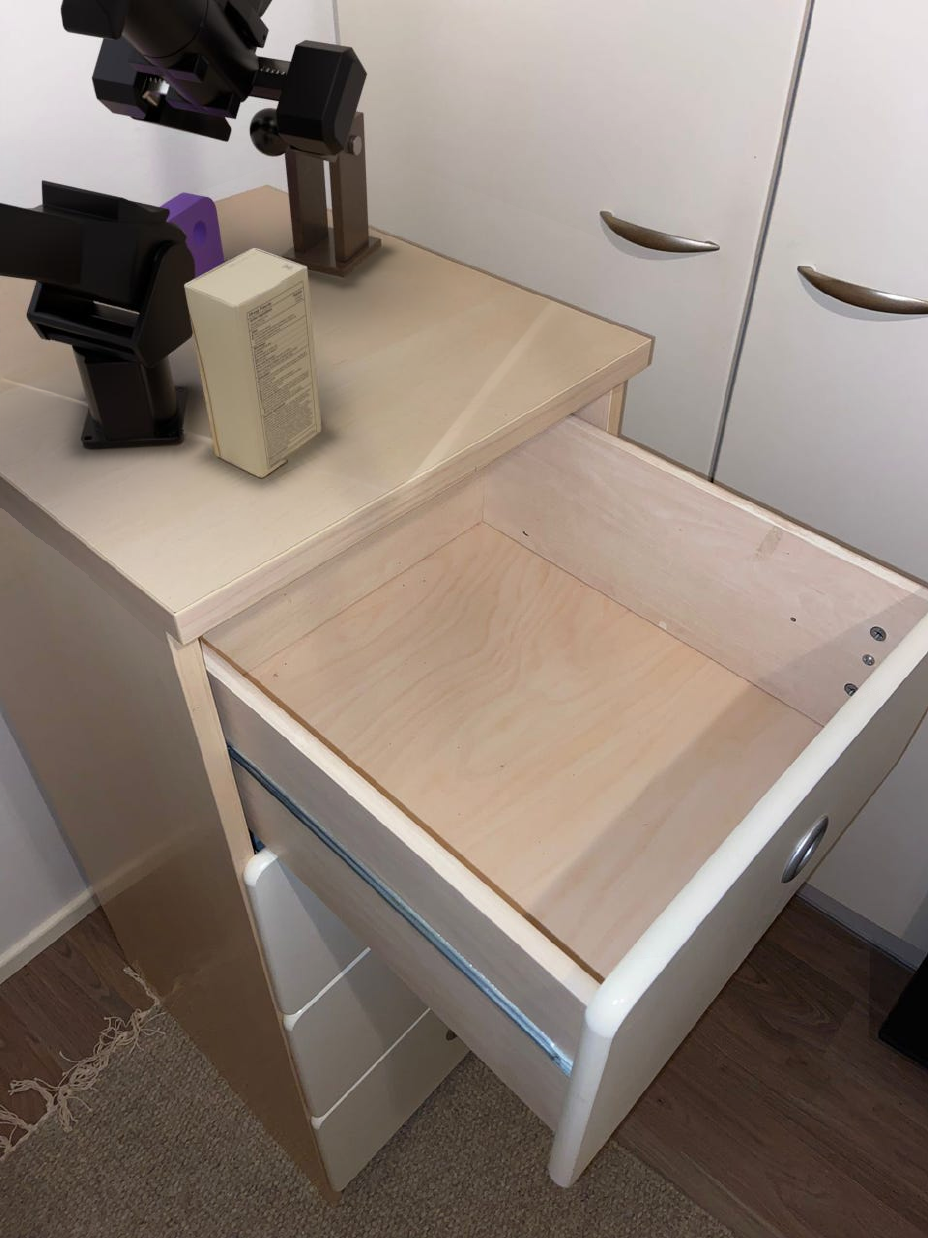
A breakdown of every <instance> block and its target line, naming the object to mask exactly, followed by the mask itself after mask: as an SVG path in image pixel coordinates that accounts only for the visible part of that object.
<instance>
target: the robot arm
mask: <svg viewBox="0 0 928 1238" xmlns="http://www.w3.org/2000/svg"><path fill="white" fill-rule="evenodd" d="M272 2H273V0H62V2H61V5H60V16H61V24H62V28H63V29H64V31H66V33H68V34H69V33H71V34H76V35H82V36H87V37H94V38H100V39H102V41H101V44H100V47H99V51H98V54H97V57H96V62H95V65H94V68H93V72H92V75H91V82H92V87H93V91H94V94H95V98H96V100H98V101H99V103H101V104H102V105H103V106H104V107H105V108H106V109H108V110H109V111H110V112H111V113H112V114H115V115H120V116H124V117H125V116H126V117H129V118H130V119H132V120H135V121H139V122H142V123H143V122H144V123H146V124H147V123H148V124H151V125H156V126H160V127H163V128H168V129H173V130H176V131H179V132H185V133H188V134H193V135H197V136H201V137H205V138H209V139H213V140H217V141H220V142H224V143H225V142H226V143H227V142H229V141H230V139H231V135H232V131H233V130H232V126H231V125H230V123H229V121H228V120H227V119H232V120H237V116H238V113H239V110H240V106H241V103H245V101H247V100H248V98H250V97H251V98H255V99H256V98H257V99H263V100H267V101H273V102H278V103H277V106H276V108H275V109H276V120H277V130H278V134H279V135H280V136H281V137H282V139H283V140H284V141H285V142H287V143H289V144H290V148H289V149H290V150H292V151H295V152H299V153H302V154H305V155H309V156H312V157H315V158H318V159H321V160H324V161H325V162H328V163H329V162H332V163H335V162H336V159H337V156H338V154H339V153H340V152H341V151H343V150H344V149H345V146H346V143H347V139H348V136H349V133H350V130H351V126H352V123H353V120H354V116H355V113H356V111H357V109H358V106H359V103H360V100H361V96H362V94H363V89H364V86H365V83H366V79H367V76H368V72H367V70H366V68H365V66H364V65H363V63H362V62H361V60H360V58H359V56H358V55H357V53H356V52H355V50H354V48H353V47H352V46H347V45H341V44H335V43H329V42H322V41H317V40H309V39H305V40H303V41H301V42H299V43H296V44H295V46H294V49H293V52H292V55H291V59H290V60H285V59H278V58H271V57H265V56H259V55H257V53H256V52H257V50H258V48H259V49H264V48H265V45H266V41H267V38H268V35H269V31H270V30H269V28H268V27H267V25H266V23H265V22H264V21H263V19H262V17H263V16H264V14H265V13H266V11H267V10H268V9H269V6H270V5H271V3H272ZM41 202H42V204H39V205H37V206H34V207H22V206H17V205H12V204H7V203H2V202H0V277H6V278H14V279H20V280H29V281H35V285H34V288H33V290H32V293H31V294H32V295H31V298H30V301H29V305H28V307H27V311H26V318H27V319H26V320H27V321H28V322H29V324H30V326H31V327H32V328H33V329H34V331H35V333H36V334H37V335H38V337H39V338H40V339H41V340H45V341H54V342H58V343H61V344H65V345H69V346H71V348H72V351H73V355H74V359H75V362H76V365H77V366H76V367H77V369H78V374H79V377H80V380H81V383H82V387H83V392H84V394H85V399H86V402H87V405H88V409H87V414H86V417H85V421H84V424H83V427H82V432H81V435H80V443H81V446H82V447H83V448H108V447H111V448H112V447H129V446H130V447H131V446H151V445H152V446H153V445H154V446H155V445H174V444H178V443H181V442H182V441H183V439H184V432H185V431H184V429H183V427H184V421H185V414H186V413H185V412H186V407H187V398H188V392H189V389H188V387H187V386H183V385H175V384H174V378H173V373H172V372H173V371H172V368H171V364H170V358H169V355H171V354H172V353H174V351H176V350H177V349H178V348H180V347H181V346H183V345H184V344H185V343H186V342H187V341H188V340H190V339H191V338H192V337H193V331H192V325H191V320H190V314H189V308H188V303H187V298H186V293H185V288H184V285H185V284H186V283H188V282H190V281H192V280H194V279H195V262H194V258H193V255H192V253H191V251H190V249H189V248H188V247H187V244H186V241H185V240H186V239H187V236H186V234H185V232H184V231H183V230H182V228H181V227H180V226H178V225H176V224H174V223H172V222H169V221H167V219H168V217H169V215H170V210H169V209H166V208H162V207H160V206H155V205H152V204H148V203H143V202H140V201H139V202H138V201H133V200H129V199H127V198H125V197H121V196H117V195H112V194H108V193H103V192H98V191H95V190H94V191H93V190H89V189H85V188H81V187H77V186H71V185H67V184H63V183H57V182H53V181H48V180H44V179H42V180H41ZM181 389H182V390H183V391H179V390H181Z"/></svg>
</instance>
